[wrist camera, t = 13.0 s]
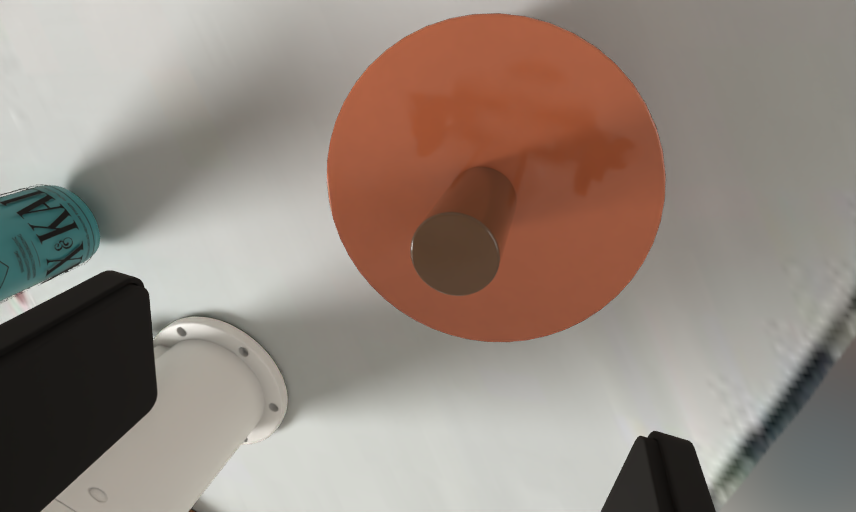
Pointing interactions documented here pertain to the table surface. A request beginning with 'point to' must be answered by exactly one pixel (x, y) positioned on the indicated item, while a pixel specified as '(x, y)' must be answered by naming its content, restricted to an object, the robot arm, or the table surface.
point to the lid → (496, 177)
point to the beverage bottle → (43, 236)
